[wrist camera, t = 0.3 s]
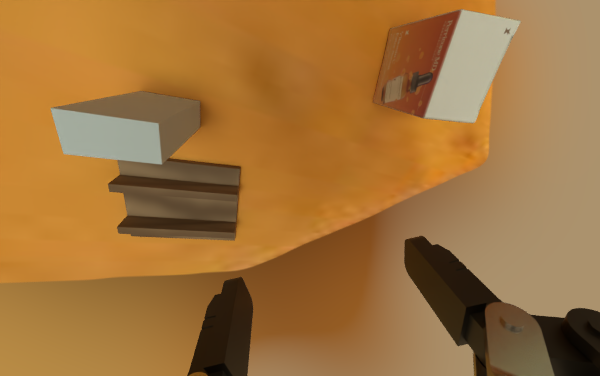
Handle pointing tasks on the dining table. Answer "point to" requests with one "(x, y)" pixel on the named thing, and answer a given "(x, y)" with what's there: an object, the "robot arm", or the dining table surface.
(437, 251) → the robot arm
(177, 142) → the grey rectangular block
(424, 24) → the small box
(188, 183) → the rack
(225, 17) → the dining table surface
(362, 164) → the dining table surface
